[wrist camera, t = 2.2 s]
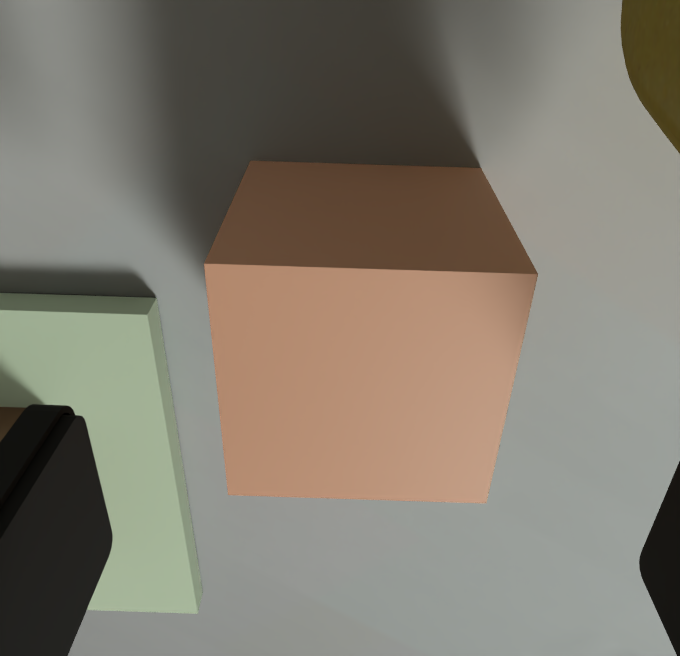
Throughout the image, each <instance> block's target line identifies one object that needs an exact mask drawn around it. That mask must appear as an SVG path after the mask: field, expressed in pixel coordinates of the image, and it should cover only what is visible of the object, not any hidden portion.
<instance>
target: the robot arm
mask: <svg viewBox="0 0 680 656" xmlns="http://www.w3.org/2000/svg"><path fill="white" fill-rule="evenodd" d="M112 541H113V534H112V529H111V524H110V520H109V516H108V512H107V508H106V504H105V500H104V496H103V491H102V487H101V483H100V479H99V475H98V471H97V467H96V462H95V458H94V454H93V450H92V446H91V442H90V438H89V434H88V429H87V425H86V422H85V419H84V418H83V416H80V415H75V413H74V410H73V409H72V408H71V407H70V406H67V405H42V404H32V405H29V406H28V407H27V408H26V409H25V410H24V411H23V412H22V413H21V415H20V416H19V417H18V419H17V420H16V421H15V423H14V424H13V425H12V427H11V428H10V429H9V431H8V432H7V434H6V435H5V436H4V438H3V439H2V440H1V442H0V656H68V653H69V651H70V648H71V646H72V644H73V641H74V639H75V636H76V634H77V632H78V629H79V627H80V625H81V622H82V620H83V617H84V615H85V613H86V610H87V608H88V605H89V603H90V601H91V598H92V596H93V594H94V591H95V589H96V586H97V584H98V582H99V579H100V577H101V574H102V572H103V570H104V567H105V565H106V563H107V560H108V558H109V555H110V552H111V548H112ZM639 564H640V572H641V576H642V579H643V581H644V583H645V586H646V588H647V590H648V592H649V594H650V597H651V599H652V601H653V603H654V605H655V608H656V610H657V612H658V614H659V617H660V619H661V621H662V623H663V625H664V628H665V630H666V632H667V634H668V637H669V639H670V641H671V643H672V645H673V648H674V650H675V652H676V654H677V656H680V462H679V464H678V466H677V469H676V471H675V474H674V476H673V478H672V481H671V483H670V485H669V488H668V490H667V493H666V495H665V497H664V500H663V502H662V504H661V507H660V509H659V512H658V514H657V516H656V519H655V521H654V523H653V526H652V528H651V531H650V533H649V535H648V538H647V540H646V542H645V545H644V547H643V549H642V552H641V555H640V562H639Z"/></svg>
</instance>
